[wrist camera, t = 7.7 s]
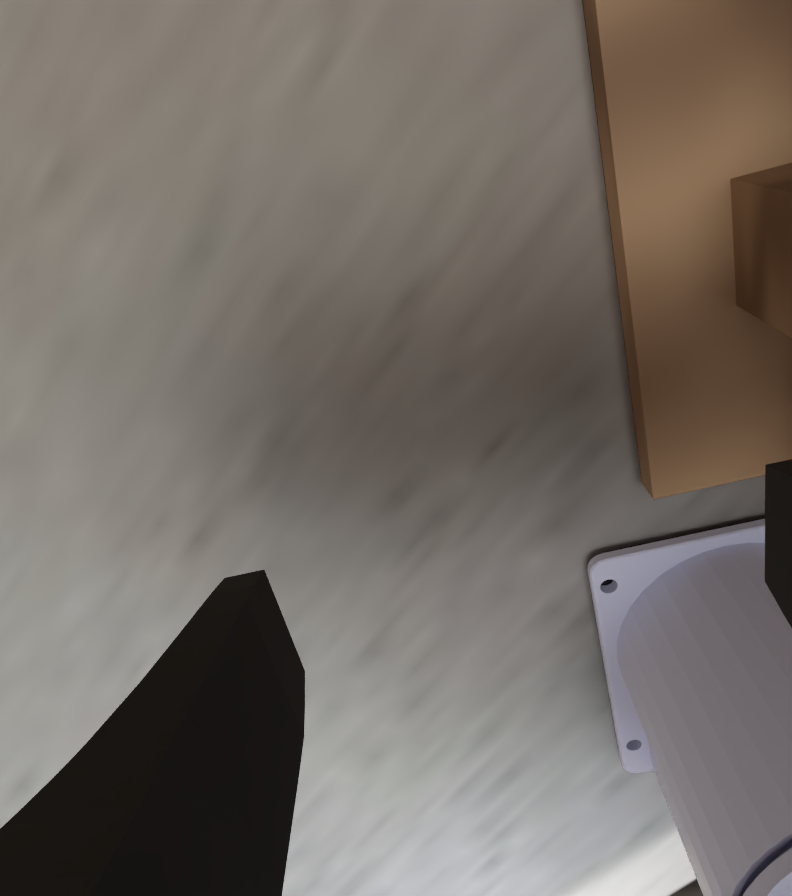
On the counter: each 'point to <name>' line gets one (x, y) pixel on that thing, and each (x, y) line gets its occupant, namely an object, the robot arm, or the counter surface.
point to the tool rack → (700, 228)
